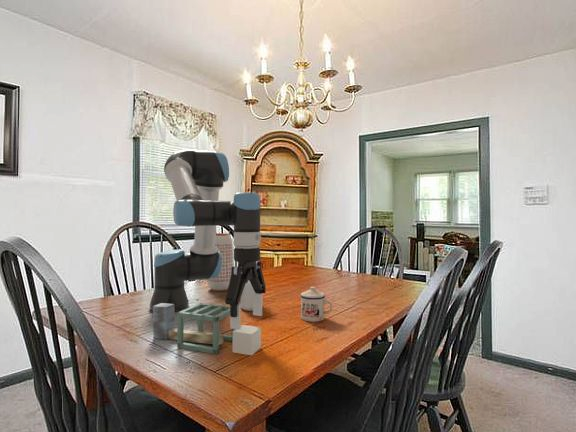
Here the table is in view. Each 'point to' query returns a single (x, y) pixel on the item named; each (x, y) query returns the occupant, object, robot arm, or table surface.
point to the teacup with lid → (313, 305)
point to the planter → (223, 263)
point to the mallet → (166, 326)
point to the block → (246, 340)
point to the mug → (247, 297)
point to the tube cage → (201, 317)
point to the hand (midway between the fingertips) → (247, 321)
